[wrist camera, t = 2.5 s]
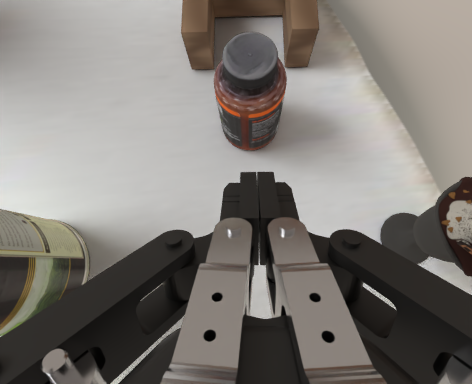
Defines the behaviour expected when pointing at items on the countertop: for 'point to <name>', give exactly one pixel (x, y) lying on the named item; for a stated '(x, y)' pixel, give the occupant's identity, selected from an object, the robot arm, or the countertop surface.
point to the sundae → (436, 229)
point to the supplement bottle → (250, 90)
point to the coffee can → (37, 265)
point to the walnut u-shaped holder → (249, 4)
